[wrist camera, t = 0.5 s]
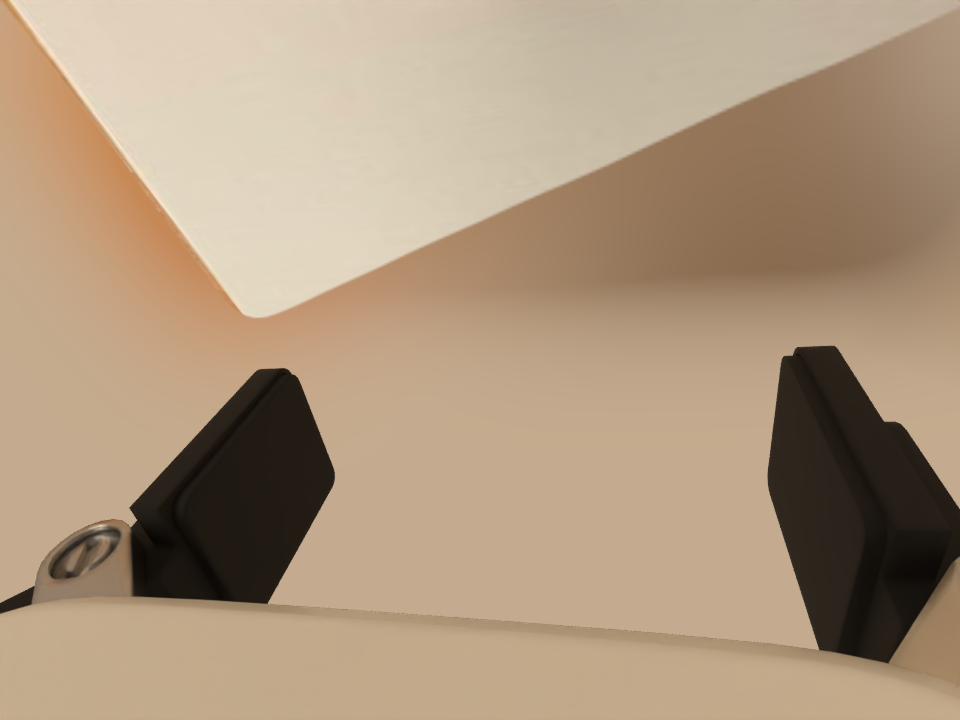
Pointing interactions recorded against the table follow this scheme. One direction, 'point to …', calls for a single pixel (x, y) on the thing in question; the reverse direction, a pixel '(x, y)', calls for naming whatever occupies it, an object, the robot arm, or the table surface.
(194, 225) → the table surface
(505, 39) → the table surface
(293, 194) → the table surface
